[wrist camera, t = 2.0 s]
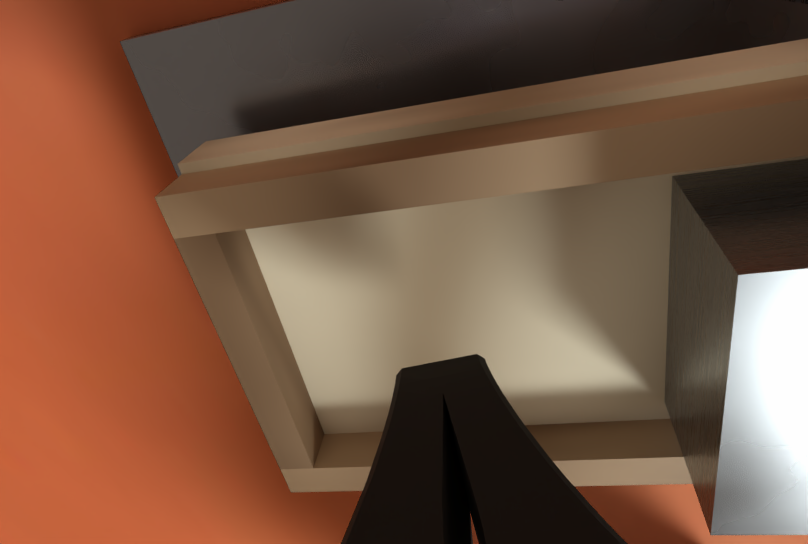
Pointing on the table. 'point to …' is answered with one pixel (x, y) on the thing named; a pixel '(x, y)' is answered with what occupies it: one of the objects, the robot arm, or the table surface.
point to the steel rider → (741, 344)
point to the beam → (474, 255)
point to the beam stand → (416, 54)
